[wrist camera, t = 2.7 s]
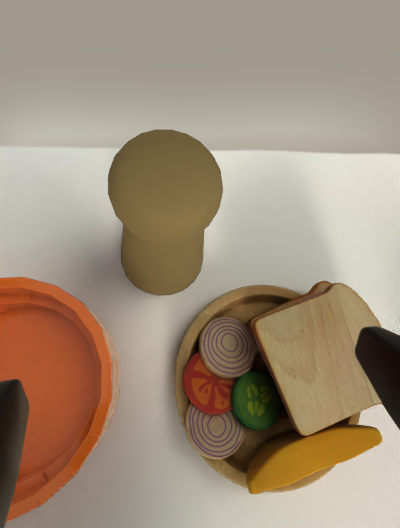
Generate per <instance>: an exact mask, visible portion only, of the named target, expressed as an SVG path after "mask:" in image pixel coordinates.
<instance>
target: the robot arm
mask: <svg viewBox="0 0 400 528" xmlns="http://www.w3.org/2000/svg"><path fill="white" fill-rule="evenodd" d="M355 355H356V358H357V360H358V362H359V363H360V365H361V367H362V369H363V370H364V372H365V374H366V376H367V378H368V379H369V381H370V383H371V385H372V386H373V388H374V390H375V392H376V394H377V395H378V397H379V399H380V401H381V402H382V404H383V406H384V407H385V409H386V410H387V412H388V413H389V415H390V416H391V418H392V419H393V421H394V422H395V424H396V425H397V427H398V428H399V429H400V335H397V334H395V333H393V332H390V331H388V330H386V329H384V328H381V327H379V326H369V327H364V328H362V329H361V330H360V333H359V336H358V340H357V343H356V347H355ZM28 417H29V401H28V398H27V396H26V393H25V391H24V388H23V385H22V383H21V381H20V380H19V379H11V380H4V381H0V528H4V527H5V524H6V520H7V516H8V513H9V509H10V506H11V502H12V499H13V495H14V491H15V487H16V483H17V479H18V474H19V469H20V463H21V457H22V452H23V446H24V440H25V434H26V428H27V422H28Z"/></svg>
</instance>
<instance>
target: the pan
mask: <svg viewBox="0 0 400 528" xmlns="http://www.w3.org/2000/svg"><path fill="white" fill-rule="evenodd" d="M11 379H19V380H20V381H21V383H22V385H23V388H24V391H25V393H26V396H27V398H28V401H29V417H28V422H27V428H26V434H25V440H24V446H23V452H22V457H21V463H20V469H19V474H18V479H17V483H16V487H15V491H14V495H13V499H12V502H11V506H10V509H9V513H8V516H7V520H6V523H7V522H9V521H11V520H13V519H15V518H17V517H19V516H21V515H23V514H25V513H27V512H29V511H31V510H33V509H35V508H37V507H40V506H41V505H42V504H44V503H45V502H46V501H47V500H48V499H49V498H51V497H52V496H53V495H54V494H55V493H56V492H57V491H58V490H59V489H61V488H62V487H63V486H64V485H65V484H66V483H67V482H68V481H69V480H71V479H72V478H73V477H74V476H75V475H76V474H77V473H78V471H79V470H80V469H81V467H82V466H83V465H84V463H85V462H86V461H87V459H88V458H89V457H90V455H91V454H92V452H93V451H94V449H95V448H96V446H97V444H98V443H99V441H100V440H101V438H102V437H103V435H104V434H105V432H106V430H107V429H108V427H109V425H110V423H111V419H112V416H113V413H114V409H115V406H116V403H117V400H118V396H119V359H118V356H117V353H116V350H115V347H114V344H113V340H112V337H111V335H110V333H109V332H108V331H107V329H106V328H105V327H104V325H103V324H102V323H101V321H100V320H99V319H98V317H97V316H96V315H95V313H93V312H92V311H91V310H90V309H89V308H88V307H87V306H85V305H84V304H83V303H82V302H81V301H79V300H77V299H76V298H74V297H73V296H71V295H70V294H68V293H67V292H65V291H64V290H62V289H61V288H59V287H58V286H55V285H52V284H48V283H45V282H41V281H37V280H33V279H29V278H26V277H12V278H0V381H4V380H11Z"/></svg>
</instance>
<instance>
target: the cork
mask: <svg viewBox="0 0 400 528" xmlns="http://www.w3.org/2000/svg"><path fill="white" fill-rule="evenodd" d="M222 193H223V187H222V179H221V171H220V168H219V166H218V164H217V163H216V161H215V159H214V157H213V155H212V154H211V153H210V151H209V150H208V149H207V148H206V147H205V146H204V145H203V144H202V143H201V142H200V141H198V140H196V139H195V138H193V137H191V136H189V135H188V134H185V133H181V132H178V131H174V130H153V131H149V132H145V133H141V134H140V135H138V136H136V137H135V138H133V139H131V140H130V141H128V142H127V143H126V144H125V145H124V146H123V147H122V149H121V150H120V151H119V152H118V153H117V154H116V155H115V157H114V160H113V162H112V165H111V168H110V170H109V175H108V195H109V198H110V201H111V203H112V206H113V209H114V211H115V214H116V216H117V217H118V218H119V219H120V220H121V222H122V223H123V234H122V247H121V264H122V266H123V269H124V271H125V274H126V276H127V277H128V278H129V280H130V281H131V282H132V283H133V284H134V285H135V286H136V287H138V288H140V289H141V290H143V291H145V292H147V293H151V294H155V295H170V294H174V293H177V292H179V291H182V290H184V289H185V288H187V287H188V286H189V285H190V284H191V283H193V282H194V280H195V279H196V277H197V276H198V274H199V272H200V270H201V266H202V261H203V244H204V229H205V228H206V227H208V226H209V224H210V223H211V221H212V220H213V218H214V217H215V215H216V213H217V211H218V209H219V207H220V202H221V198H222Z"/></svg>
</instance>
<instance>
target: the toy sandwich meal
mask: <svg viewBox="0 0 400 528" xmlns="http://www.w3.org/2000/svg"><path fill="white" fill-rule="evenodd" d="M369 326H379V327H381V325H380V323H379V322H378V320H377V318H376V317H375V315H374V314H373V312H372V311H371V309H370V308H369V307H368V305H367V304H366V303H365V302H364V300H363V299H362V298H361V297H360V296H359V295H358V294H357V293H356V292H355V291H353V290H352V289H351V288H350V287H348V286H347V285H344V284H342V283H335V284H331V283H329V282H327V281H321V282H319V283H317V284H315V285H314V286H313V287H312V288H311V290H310V291H309V292H308V293H306V294H304V295H301V294H299V293H297V292H294V291H292V290H289V289H286V288H282V287H277V286H269V285H253V286H247V287H242V288H238V289H235V290H232V291H230V292H228V293H226V294H224V295H222V296H220V297H218V298H217V299H215V300H214V301H213V302H211V303H210V304H209V305H208V306H207V307H205V308H204V309H203V310H202V311H201V312H200V313H199V315H198V316H197V317H196V318H195V320H194V321H193V322H192V324H191V325H190V327H189V329H188V330H187V332H186V334H185V336H184V339H183V341H182V343H181V346H180V349H179V353H178V356H177V361H176V368H175V396H176V403H177V407H178V411H179V415H180V418H181V421H182V424H183V426H184V429H185V431H186V435H187V437H188V440H189V441H190V443H191V445H192V447H193V448H194V449H195V450H196V451H197V452H198V453H199V454H200V455H201V456H202V457H203V458H204V459H205V461H206V462H207V463H208V464H209V465H210V466H211V467H213V468H214V469H215V470H216V471H217V472H219V473H220V474H221V475H223V476H224V477H226V478H227V479H229V480H231V481H232V482H234V483H236V484H239V485H241V486H244V487H246V488H248V490H249V492H250V493H251V494H258V493H262V492H284V491H291V490H295V489H298V488H302V487H305V486H307V485H309V484H311V483H313V482H315V481H316V480H318V479H320V478H321V477H323V476H324V475H325V474H327V473H328V472H329V471H330V470H331V469H332V468H333V467H334V466H335V465H336V464H338V463H341V462H344V461H347V460H349V459H351V458H354V457H356V456H358V455H359V454H361V453H363V452H365V451H367V450H369V449H371V448H373V447H375V446H377V445H379V444H380V443H381V442H382V437H381V434H380V432H379V431H378V429H377V428H374V427H371V426H363V425H358V422H359V418H360V412H361V411H362V410H365V409H367V408H370V407H372V406H374V405H377V404H382V402H381V401H380V399H379V397H378V395H377V394H376V392H375V390H374V388H373V386H372V385H371V383H370V381H369V379H368V378H367V376H366V374H365V372H364V370H363V369H362V367H361V365H360V363H359V362H358V360H357V358H356V355H355V347H356V343H357V340H358V336H359V333H360V330H361V329H362V328H364V327H369ZM381 328H382V327H381Z"/></svg>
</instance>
